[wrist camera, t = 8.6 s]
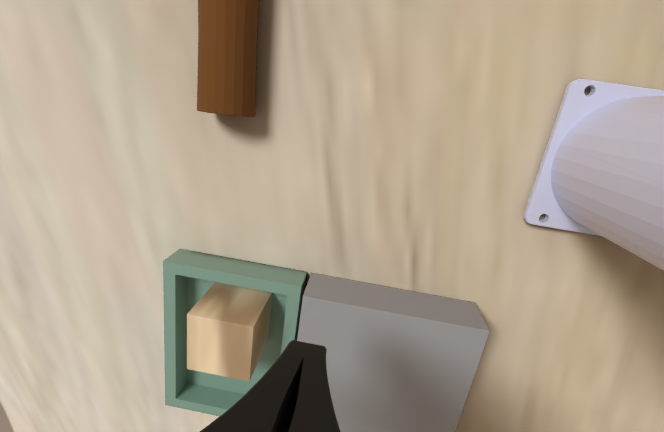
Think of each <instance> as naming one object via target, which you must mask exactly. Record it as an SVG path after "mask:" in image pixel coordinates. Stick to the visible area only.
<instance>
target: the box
mask: <svg viewBox="0 0 664 432" xmlns="http://www.w3.org/2000/svg"><path fill="white" fill-rule="evenodd" d="M306 276H307V272H304V271H299V270H293V269H288V268H282V267H277V266H271V265H266V264H260V263H255V262H250V261H244V260H239V259H233V258H228V257H222V256H217V255H211V254H206V253H200V252H195V251H189V250H184V249H179V250H178V251H176V252H175V253H173V254H172V255H171V256H169V257H168V258H167V259H165V260H164V261H163V277H164V344H165V405H169V406H173V407H178V408H183V409H188V410H192V411H197V412H202V413H207V414H211V415H216V416H221V415H222V414H224V413H225V412H226V411H227V410H228V409H230V408H231V407H232V406H233V405H234V404H235V403H236V402H237V401H239V400H240V399H241V398H242V397H243V396H244V395H245V394H246V393H247V392H248V391H249V390H250V389H251V388H252V387H253V386H254V385H255V384H256V383H257V382H258V381H259V380H260V379H261V378H262V377H263V375H264V374H265V373H266V372H267V371H268V370H269V368H270V367H271V366H272V365H273V364H274V363H275V361H276V360H277V359H278V358H279V356H280V355H281V354H282V352H283V351H284V350H285V348H286V347H287V345H288V344H289V342H290V341H292V340H295V341H297V337H298V329H299V322H300V314H301V307H302V299H303V294H304V291H305V283H306ZM215 282H218V283H224V284H229V285H234V286H240V287H245V288H250V289H256V290H261V291H266V292H272V302H271V313H270V324H269V336H268V341H267V343H266V345H265V348H264V350H263V352H262V354H261V357H260V359H259V361H258V363H257V366H256V368H255V370H254V372H253V375H252V377H251V379H250V381H245V380H240V379H235V378H230V377H225V376H220V375H215V374H210V373H205V372H199V371H194V370H189V369H187V314H188V312H189V311H190V310H191V309H192V308H193V307H194V306H195V305H196V303H197V302H198V301H199V300H200V299H201V298H202V297H203V296H204V294H205V293H206V292H207V291H208V290H209V289H210V288H211V287H212V285H213V284H214V283H215Z"/></svg>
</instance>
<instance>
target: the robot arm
mask: <svg viewBox="0 0 664 432" xmlns="http://www.w3.org/2000/svg"><path fill="white" fill-rule="evenodd" d="M587 86H589V87H590V88H591V92H590V93H589V95H587V96H586V95H585V93H584V90H585V88H586V87H587ZM542 214H545V218H544V219H543V220H539V217H540V215H542ZM523 217H524V220H525V221H526V222H528V223H529V224H532V225H538V226H544V227H550V228H556V229H562V230H568V231H574V232H580V233H586V234H592V235H598V236H603V237H605V238H606V239H608V240H610V241H612V242H613V243H615V244H617V245H619V246H620V247H622V248H624V249H626V250H628V251H629V252H631V253H633V254H635V255H636V256H638V257H640V258H642V259H643V260H645V261H647V262H649V263H651V264H652V265H654V266H656V267H658V268H659V269H661V270H663V271H664V90H657V89H650V88H643V87H636V86H629V85H622V84H615V83H608V82H601V81H594V80H586V79H577V80H574V81H571V82H570V83H569V84H568V86H567V88H566V90H565V93H564V96H563V99H562V102H561V105H560V108H559V111H558V114H557V117H556V120H555V123H554V126H553V129H552V132H551V134H550V137H549V140H548V143H547V146H546V149H545V152H544V155H543V158H542V161H541V164H540V167H539V170H538V173H537V176H536V179H535V182H534V185H533V188H532V191H531V194H530V196H529V199H528V202H527V205H526V208H525V211H524V215H523ZM326 351H327V349H326V348H325V346H321V345H316V344H311V343H305V342H300V341H295V340H292V341H290V342H289V344H288V345H287V347H286V348H285V350H284V351H283V352H282V354H281V355H280V356H279V358H278V359H277V360H276V361H275V363H274V364H273V365H272V366H271V367H270V368H269V370H268V371H267V372H266V373H265V374H264V375H263V377H262V378H261V379H260V380H259V381H258V382H257V383H256V384H255V385H254V386H253V387H252V388H251V389H250V390H249V391H248V392H247V393H246V394H245V395H244V396H243V397H242V398H241V399H240V400H239V401H237V402H236V403H235V404H234V405H233V406H232V407H231V408H230V409H228V410H227V411H226V412H225V413H224V414H222V415H221V416H220V417H219V418H217V419H216V420H215V421H213V422H212V423H211V424H210V425H208V426H207V427H206V428H204V429H203V430H201V431H200V432H341V431H340V428H339V425H338V422H337V418H336V415H335V411H334V407H333V403H332V399H331V394H330V389H329V383H328V377H327V368H326Z"/></svg>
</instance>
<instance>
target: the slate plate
mask: <svg viewBox="0 0 664 432" xmlns="http://www.w3.org/2000/svg"><path fill="white" fill-rule="evenodd" d="M489 333H490V330H489V328H488V326H487V324H486V322H485V320H484V318H483V317H482V315H481V313H480V311H479V309H478V307H477V305H476V303H474V302H469V301H463V300H458V299H452V298H447V297H441V296H436V295H430V294H425V293H419V292H414V291H408V290H403V289H397V288H392V287H386V286H381V285H376V284H370V283H365V282H359V281H354V280H348V279H343V278H337V277H332V276H326V275H321V274H315V273H311V275H310V278H309V281H308V283H307V286H306V289H305V292H304V294H303V299H302V307H301V314H300V322H299V329H298V337H297V341H300V342H305V343H311V344H316V345H321V346H325V348H326V349H327V351H326V368H327V377H328V383H329V389H330V394H331V399H332V403H333V407H334V411H335V415H336V418H337V422H338V425H339V428H340V431H341V432H455V431H456V428H457V425H458V422H459V419H460V416H461V414H462V411H463V408H464V405H465V402H466V399H467V396H468V393H469V390H470V388H471V385H472V382H473V379H474V376H475V373H476V370H477V367H478V364H479V362H480V359H481V356H482V353H483V350H484V347H485V344H486V341H487V338H488V335H489Z"/></svg>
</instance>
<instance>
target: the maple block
mask: <svg viewBox="0 0 664 432" xmlns="http://www.w3.org/2000/svg"><path fill="white" fill-rule="evenodd" d="M271 302H272V292H266V291H261V290H256V289H250V288H245V287H240V286H234V285H229V284H224V283H218V282H215V283H214V284H213V285H212V287H211V288H210V289H209V290H208V291H207V292H206V293H205V294H204V296H203V297H202V298H201V299H200V300H199V301H198V302H197V303H196V305H195V306H194V307H193V308H192V309H191V310H190V311H189V312H188V314H187V369H189V370H194V371H199V372H205V373H210V374H215V375H220V376H225V377H230V378H235V379H240V380H245V381H250V379H251V377H252V375H253V372H254V370H255V368H256V366H257V363H258V361H259V359H260V357H261V354H262V352H263V350H264V348H265V345H266V343H267V341H268V336H269V324H270V313H271Z"/></svg>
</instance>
